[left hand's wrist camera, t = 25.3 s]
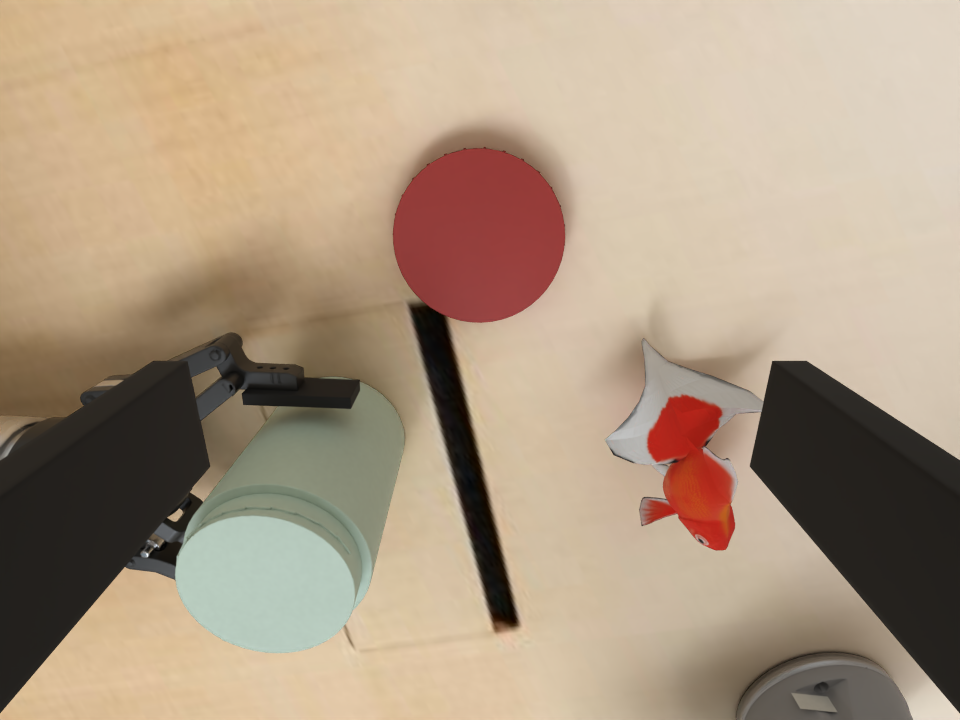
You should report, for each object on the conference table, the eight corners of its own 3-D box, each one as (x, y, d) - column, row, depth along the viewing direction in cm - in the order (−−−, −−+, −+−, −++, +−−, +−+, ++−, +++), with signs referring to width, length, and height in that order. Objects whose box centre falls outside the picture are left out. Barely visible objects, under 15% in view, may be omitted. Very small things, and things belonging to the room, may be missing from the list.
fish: (588, 556, 40) (673, 600, 31) (562, 351, 41) (636, 331, 32) (705, 529, 44) (814, 561, 34) (678, 340, 45) (777, 319, 35)
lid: (496, 343, 39) (497, 353, 37) (365, 254, 37) (359, 260, 35) (595, 216, 36) (601, 220, 34) (458, 109, 33) (457, 107, 32)
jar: (306, 352, 39) (205, 472, 25) (428, 415, 41) (400, 560, 27) (253, 455, 43) (137, 615, 28) (369, 509, 45) (316, 684, 30)
